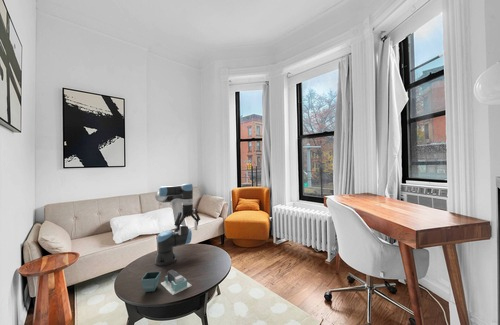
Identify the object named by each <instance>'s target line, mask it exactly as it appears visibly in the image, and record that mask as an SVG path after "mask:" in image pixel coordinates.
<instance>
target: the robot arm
mask: <svg viewBox="0 0 500 325" xmlns="http://www.w3.org/2000/svg"><path fill="white" fill-rule="evenodd" d="M193 186H194V185H193V183H183V184H180V185H169V186H168V185H167V186H164V185H163V186H160V187H159V188H158V191H157V192H156V193H155V199H156V202H160V203H169V205H170V206H171V207H172V209H171V210H172V213H173V214H172V215H173V221H174V226H175V229H174V230H171V229H169V230H165V231H161V232H160V233H159V234H158V235H157V238H156V244H157V246H156V247H157V254H156V256H155V260H154V264H155V265H156V266H159V267H161V266H162V267H164V266H169V265H171V264H174V262H176V254H175V252H174V247H180V246H185V245H188V244H190V243H191V242H192V239H193V238H192V236H193V235H192V230H191V228H189V226H187V225H186V218H189V217H192V219H193V220H194V231H198V226H199V221H200V220H201V218H200V216H199V214H198V211H197V209H196V208H194V206H193V205H194V204H193V203H194V198H193V197H194V194H193V191H194V190H193V189H194V188H193Z"/></svg>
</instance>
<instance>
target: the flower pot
mask: <svg viewBox="0 0 500 325" xmlns="http://www.w3.org/2000/svg"><path fill="white" fill-rule="evenodd" d="M161 273H162V272H161V271H147V272H145V274H144V276H142V278H141V280H140V281H141V285H142V289H143V291H145V293H149V292H150V293H151V292H152V293H153V292H155V291H156V289H157V288H158V287H159V283H160V280H161Z"/></svg>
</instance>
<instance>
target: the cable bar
mask: <svg viewBox="0 0 500 325" xmlns="http://www.w3.org/2000/svg"><path fill="white" fill-rule="evenodd" d="M176 272H177V271H175V270H174V269H170V270H168V271H167V276H168V281H169V282H170V283H171V281H174V283H176V284H177V283H179V282H181V281H183V277H184V276H183V275H181V274H179V273H178V272H177V273H176Z"/></svg>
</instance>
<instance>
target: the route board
mask: <svg viewBox="0 0 500 325" xmlns="http://www.w3.org/2000/svg"><path fill="white" fill-rule="evenodd" d="M175 272H176V273H178V271H175ZM164 278H165V280H164V281H163V282H160V285H161V286H162V287H163V288H164V289H166V291H167V292H168V293H169V294H170V295H171V296H174V295H176V294H178V293H180V292H182V291H184V290H186V289H188V288H191V287H192V286H193V285H192V284H191V283H190V282H188V279H187V278H185V277H184V276H183V281H181V282H179V283H177V284H176V283H174V281H171V283H170V282H169V281H168V275H165V277H164Z"/></svg>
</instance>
